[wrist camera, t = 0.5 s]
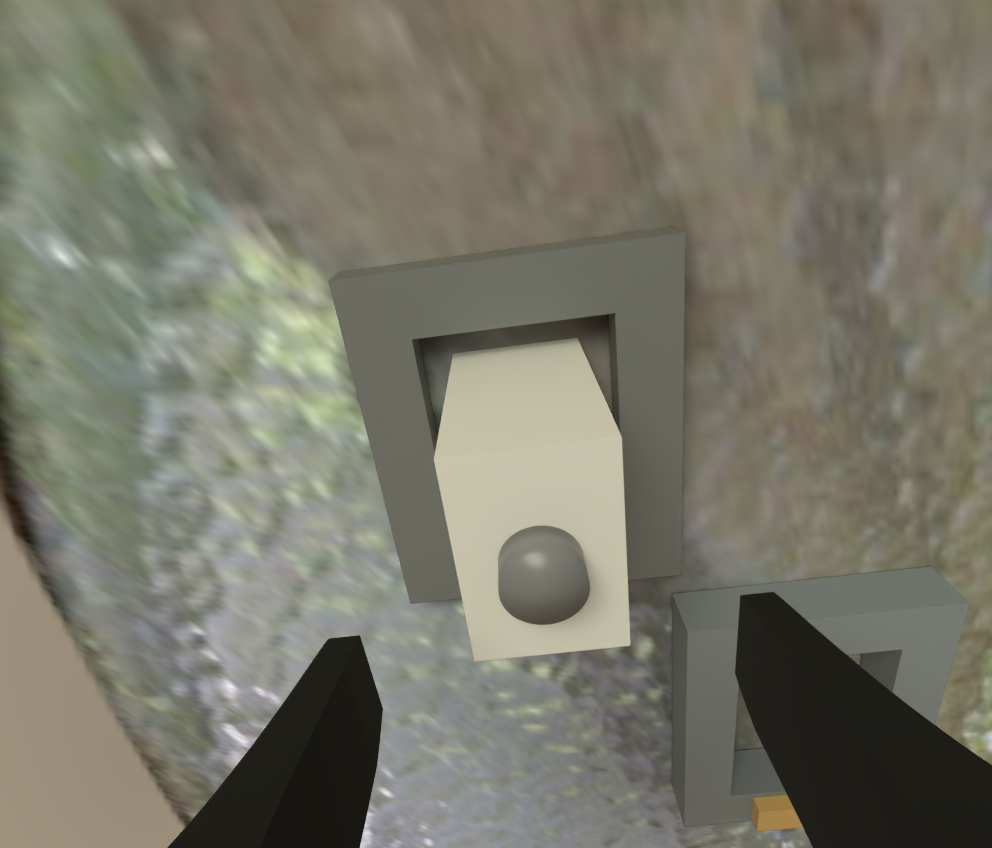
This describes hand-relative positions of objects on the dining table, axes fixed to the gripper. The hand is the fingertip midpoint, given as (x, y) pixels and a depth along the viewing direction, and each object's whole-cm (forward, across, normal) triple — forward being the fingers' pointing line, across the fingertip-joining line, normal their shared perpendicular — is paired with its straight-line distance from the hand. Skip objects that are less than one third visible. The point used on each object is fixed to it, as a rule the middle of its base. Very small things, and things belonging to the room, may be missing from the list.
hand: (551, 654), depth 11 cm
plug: (+10, 0, 0) cm, 10 cm away
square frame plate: (+10, 0, 0) cm, 10 cm away
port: (+10, -10, +14) cm, 20 cm away
